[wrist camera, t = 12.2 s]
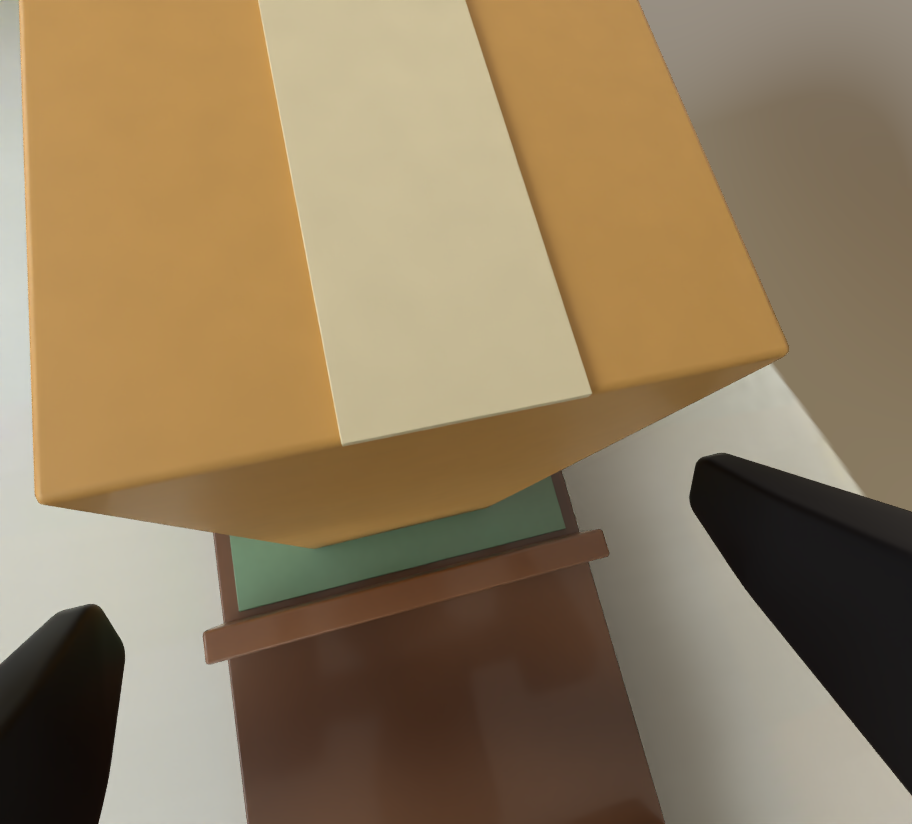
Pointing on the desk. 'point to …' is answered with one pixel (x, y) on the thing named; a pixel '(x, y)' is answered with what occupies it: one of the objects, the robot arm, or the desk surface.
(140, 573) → the desk surface
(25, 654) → the robot arm
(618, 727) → the rack
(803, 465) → the desk surface
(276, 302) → the package
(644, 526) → the desk surface
